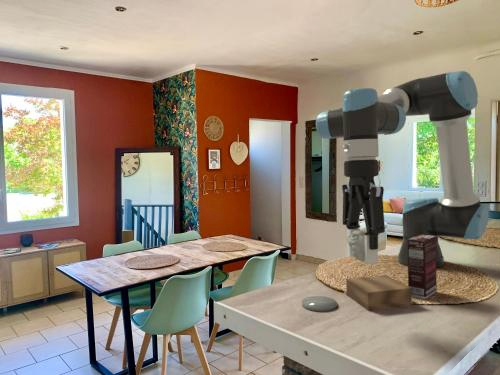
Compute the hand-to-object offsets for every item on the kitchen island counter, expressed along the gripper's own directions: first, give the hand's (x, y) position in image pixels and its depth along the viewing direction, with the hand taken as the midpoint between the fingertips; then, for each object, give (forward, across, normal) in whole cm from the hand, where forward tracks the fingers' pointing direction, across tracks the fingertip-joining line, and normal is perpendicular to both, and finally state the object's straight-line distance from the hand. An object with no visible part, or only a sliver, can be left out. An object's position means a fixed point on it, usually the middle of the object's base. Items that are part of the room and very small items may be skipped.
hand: (362, 259), depth 87 cm
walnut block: (+15, -11, +11) cm, 21 cm away
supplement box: (+15, -11, +25) cm, 31 cm away
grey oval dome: (+15, -13, -5) cm, 20 cm away
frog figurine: (+1, 0, 0) cm, 1 cm away
